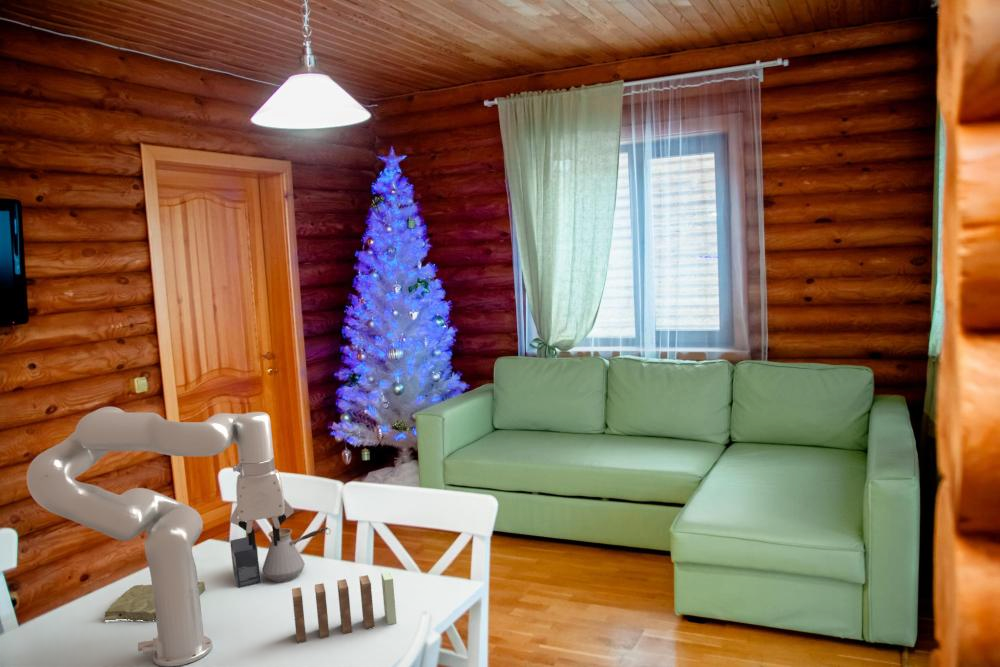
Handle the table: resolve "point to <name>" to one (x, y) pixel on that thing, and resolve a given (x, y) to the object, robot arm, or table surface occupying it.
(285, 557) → the coffee pot
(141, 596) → the decorative tile
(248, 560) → the small box
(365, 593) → the domino
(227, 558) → the table surface
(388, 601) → the domino
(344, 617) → the domino
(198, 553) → the table surface
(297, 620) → the domino
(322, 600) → the domino
